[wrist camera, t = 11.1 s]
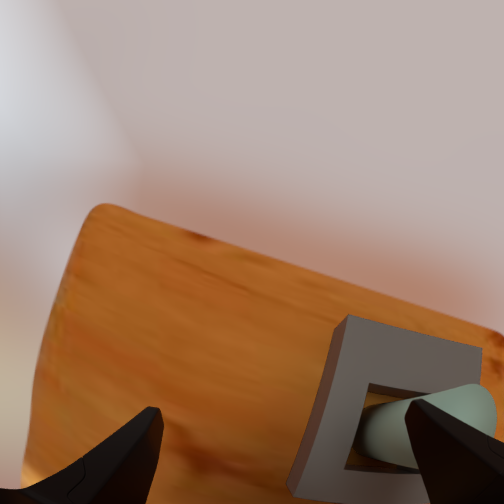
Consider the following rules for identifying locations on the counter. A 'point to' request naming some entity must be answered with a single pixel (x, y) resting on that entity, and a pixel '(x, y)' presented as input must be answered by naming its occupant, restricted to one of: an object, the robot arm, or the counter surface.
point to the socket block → (352, 400)
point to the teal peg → (394, 428)
